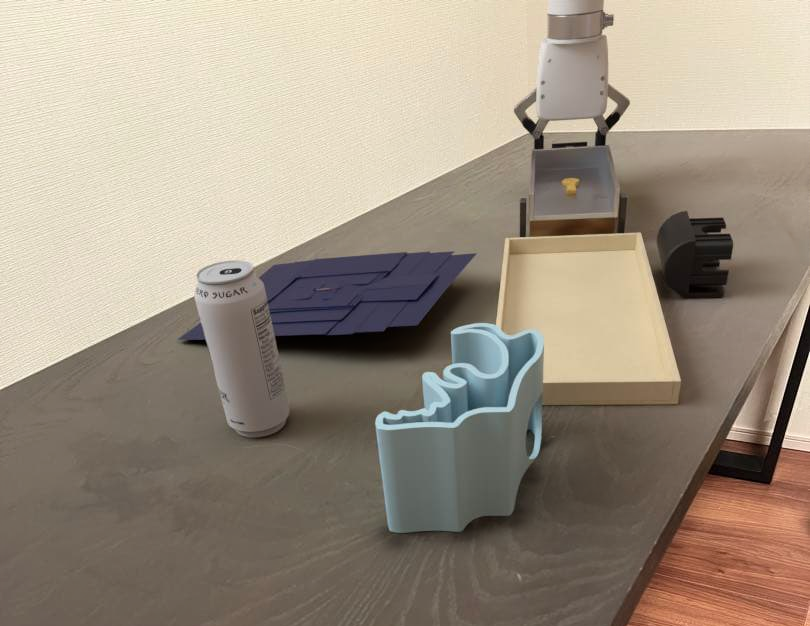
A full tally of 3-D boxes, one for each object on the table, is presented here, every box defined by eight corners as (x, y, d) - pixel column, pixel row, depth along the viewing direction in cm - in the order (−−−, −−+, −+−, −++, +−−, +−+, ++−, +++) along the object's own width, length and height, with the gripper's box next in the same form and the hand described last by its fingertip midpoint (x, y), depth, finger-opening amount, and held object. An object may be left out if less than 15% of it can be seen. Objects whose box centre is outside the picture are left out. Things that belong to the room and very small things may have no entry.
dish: (605, 162, 120) (607, 137, 118) (617, 217, 100) (620, 189, 98) (531, 166, 122) (531, 142, 119) (528, 221, 102) (529, 193, 100)
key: (561, 182, 112) (561, 178, 112) (579, 181, 111) (579, 177, 111) (562, 194, 108) (562, 190, 107) (580, 193, 107) (580, 189, 107)
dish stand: (613, 200, 119) (617, 157, 115) (623, 244, 104) (627, 197, 100) (522, 204, 121) (523, 162, 117) (519, 248, 106) (519, 202, 103)
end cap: (653, 267, 97) (659, 211, 93) (713, 266, 96) (723, 208, 92) (659, 300, 90) (666, 240, 86) (724, 299, 89) (735, 238, 84)
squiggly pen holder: (507, 547, 59) (506, 441, 53) (382, 530, 62) (369, 428, 56) (548, 423, 72) (552, 326, 66) (444, 413, 75) (438, 320, 69)
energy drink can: (236, 410, 79) (198, 260, 69) (295, 406, 78) (265, 255, 69) (223, 442, 74) (181, 287, 64) (286, 438, 73) (253, 281, 64)
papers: (415, 358, 81) (408, 324, 79) (183, 362, 93) (172, 333, 91) (484, 269, 98) (480, 240, 96) (281, 283, 110) (273, 257, 108)
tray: (639, 251, 102) (641, 232, 100) (677, 404, 72) (681, 381, 71) (505, 256, 105) (505, 237, 103) (489, 405, 75) (489, 383, 73)
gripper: (637, 18, 110) (625, 153, 121) (511, 28, 113) (511, 160, 124) (642, 26, 105) (629, 167, 116) (510, 36, 107) (510, 173, 118)
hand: (568, 162), depth 120 cm, fingers open, 7 cm apart
